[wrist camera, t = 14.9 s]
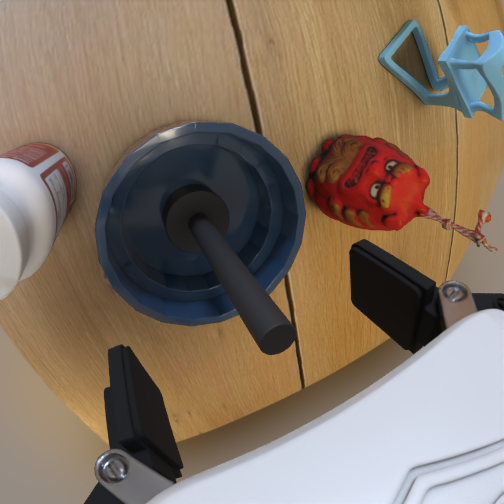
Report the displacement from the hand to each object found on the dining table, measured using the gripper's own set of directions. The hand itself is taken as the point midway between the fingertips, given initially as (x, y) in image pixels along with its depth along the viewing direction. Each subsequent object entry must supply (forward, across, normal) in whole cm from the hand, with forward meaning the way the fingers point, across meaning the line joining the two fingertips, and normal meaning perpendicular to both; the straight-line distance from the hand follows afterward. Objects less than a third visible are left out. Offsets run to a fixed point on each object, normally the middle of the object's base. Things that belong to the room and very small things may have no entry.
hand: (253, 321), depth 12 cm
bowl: (+13, -1, 0) cm, 13 cm away
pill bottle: (+14, +9, -6) cm, 17 cm away
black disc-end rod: (+13, -1, 0) cm, 13 cm away
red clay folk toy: (+13, -14, +1) cm, 19 cm away
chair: (+13, -26, -8) cm, 30 cm away
